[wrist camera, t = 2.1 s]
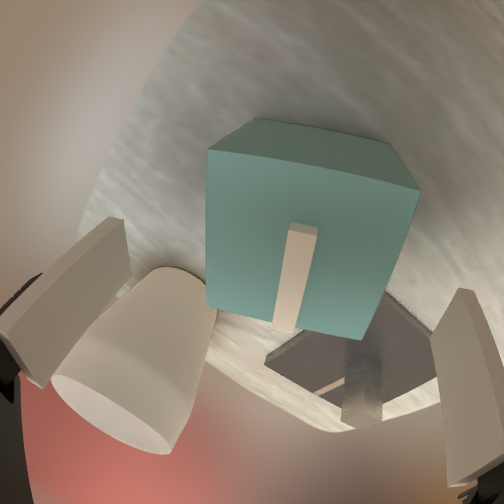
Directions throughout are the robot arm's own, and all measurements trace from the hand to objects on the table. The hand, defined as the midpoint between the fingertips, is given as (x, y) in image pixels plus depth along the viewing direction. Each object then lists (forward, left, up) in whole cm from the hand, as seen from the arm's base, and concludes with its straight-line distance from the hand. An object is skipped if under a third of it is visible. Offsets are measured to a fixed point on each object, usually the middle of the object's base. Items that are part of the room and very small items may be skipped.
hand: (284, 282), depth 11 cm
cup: (+14, -2, -8) cm, 16 cm away
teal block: (0, 0, -8) cm, 8 cm away
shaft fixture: (+8, +13, -8) cm, 17 cm away
